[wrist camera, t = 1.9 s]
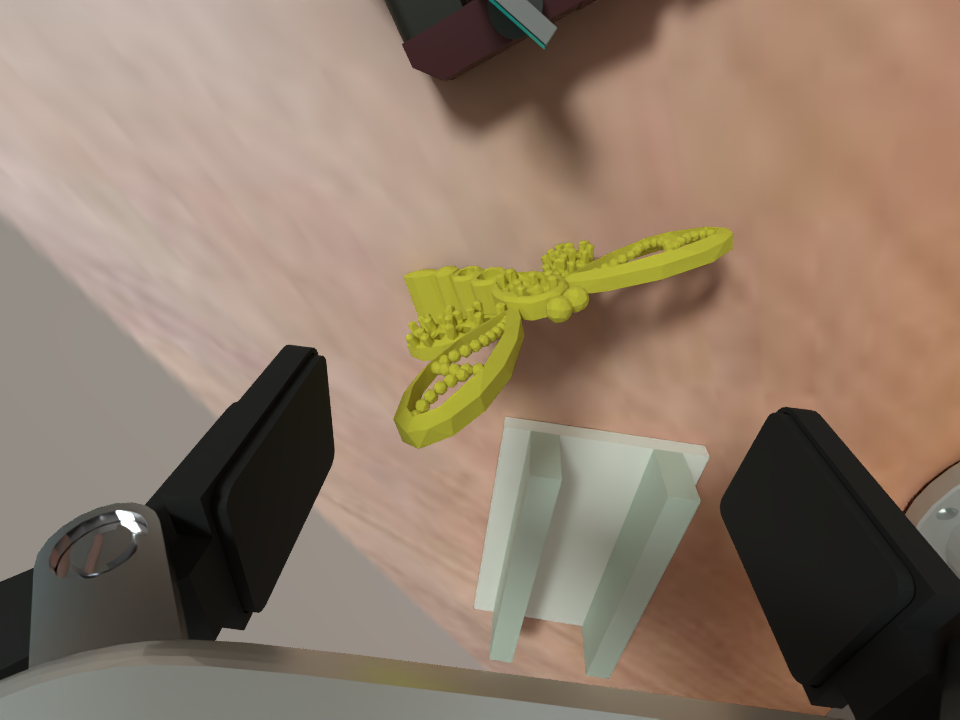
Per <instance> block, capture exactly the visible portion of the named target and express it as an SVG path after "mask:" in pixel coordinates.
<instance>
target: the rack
mask: <svg viewBox="0 0 960 720" xmlns="http://www.w3.org/2000/svg"><path fill="white" fill-rule="evenodd" d="M708 459H709V454H708V452H707V450H706V448H705V446H702V445H695V444H689V443H682V442H675V441H668V440H661V439H655V438H648V437H641V436H634V435H627V434H620V433H614V432H607V431H600V430H593V429H586V428H580V427H573V426H566V425H559V424H552V423H545V422H539V421H532V420H525V419H518V418H511V417H505V422H504V428H503V434H502V440H501V446H500V452H499V458H498V464H497V470H496V476H495V482H494V488H493V494H492V500H491V506H490V512H489V518H488V524H487V530H486V536H485V542H484V548H483V554H482V560H481V566H480V572H479V578H478V584H477V590H476V596H475V604H474V609H480V610H486V611H493V619H492V630H491V642H490V654H489V659H491V660H497V661H503V662H509V663H512V660H513V656H514V652H515V649H516V645H517V641H518V638H519V634H520V630H521V627H522V623H523V620H524V617H530V618H536V619H542V620H548V621H554V622H560V623H567V624H573V625H579V626H582V631H583V644H584V657H585V669H586V675H588V676H594V677H600V678H606V679H609V678H610V676H611V674H612V672H613V670H614V668H615V666H616V664H617V662H618V660H619V658H620V656H621V655H622V653H623V651H624V649H625V647H626V645H627V643H628V641H629V639H630V637H631V635H632V633H633V631H634V629H635V628H636V626H637V624H638V622H639V620H640V618H641V616H642V614H643V612H644V610H645V608H646V606H647V604H648V603H649V601H650V599H651V597H652V595H653V593H654V591H655V589H656V587H657V585H658V583H659V581H660V579H661V577H662V576H663V574H664V572H665V570H666V568H667V566H668V564H669V562H670V560H671V558H672V556H673V554H674V552H675V550H676V549H677V547H678V545H679V543H680V541H681V539H682V537H683V535H684V533H685V531H686V529H687V527H688V525H689V524H690V522H691V520H692V518H693V516H694V514H695V512H696V510H697V508H698V506H699V504H700V502H701V500H700V498H699V495H698V492H697V490H696V487H695V486H696V484H697V482H698V480H699V478H700V476H701V474H702V472H703V470H704V468H705V466H706V463H707V461H708Z"/></svg>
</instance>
